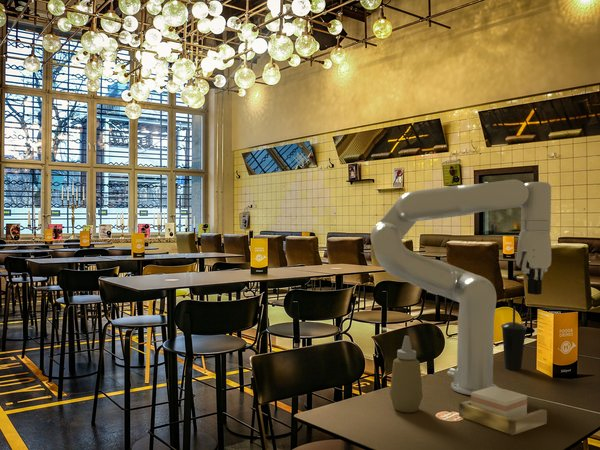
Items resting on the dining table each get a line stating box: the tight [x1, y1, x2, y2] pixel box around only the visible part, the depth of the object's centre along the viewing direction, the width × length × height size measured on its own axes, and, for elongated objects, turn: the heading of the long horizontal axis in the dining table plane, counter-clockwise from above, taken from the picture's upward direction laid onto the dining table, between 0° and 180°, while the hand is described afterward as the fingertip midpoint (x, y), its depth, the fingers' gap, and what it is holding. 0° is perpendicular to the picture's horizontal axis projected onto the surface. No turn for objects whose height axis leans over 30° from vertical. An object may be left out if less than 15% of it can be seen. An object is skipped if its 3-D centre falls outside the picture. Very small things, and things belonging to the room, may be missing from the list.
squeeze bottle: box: [389, 335, 423, 413], centre depth 136 cm, size 8×8×18 cm
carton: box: [470, 386, 528, 419], centre depth 131 cm, size 9×9×6 cm
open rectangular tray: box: [458, 399, 548, 436], centre depth 130 cm, size 14×13×3 cm
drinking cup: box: [500, 305, 528, 371], centre depth 177 cm, size 8×8×20 cm
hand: (534, 293), depth 152 cm, fingers closed
